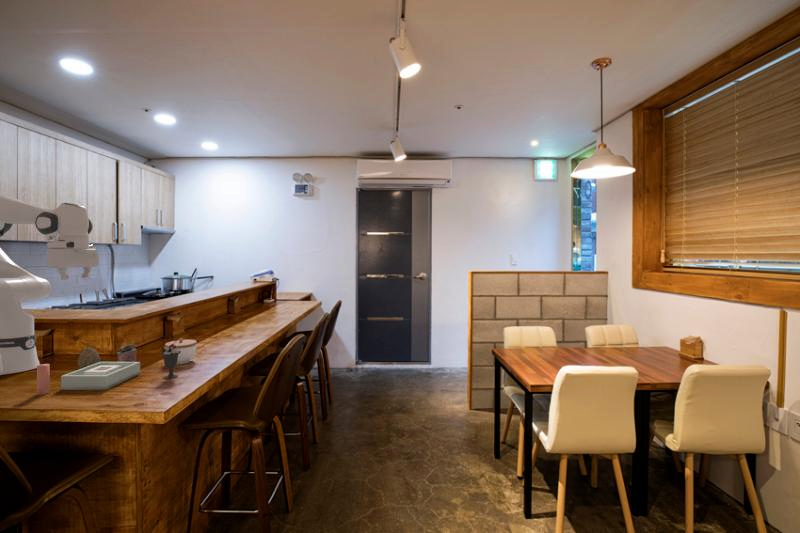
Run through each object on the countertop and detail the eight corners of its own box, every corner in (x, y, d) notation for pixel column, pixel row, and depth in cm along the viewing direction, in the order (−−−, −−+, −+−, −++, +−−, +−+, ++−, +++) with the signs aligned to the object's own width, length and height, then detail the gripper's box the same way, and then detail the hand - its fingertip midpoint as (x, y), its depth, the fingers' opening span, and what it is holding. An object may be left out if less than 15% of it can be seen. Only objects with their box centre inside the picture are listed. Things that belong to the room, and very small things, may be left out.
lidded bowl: (174, 358, 173) (174, 335, 173) (201, 358, 174) (201, 335, 174) (158, 366, 161) (158, 341, 160) (188, 366, 161) (188, 341, 161)
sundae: (184, 376, 148) (184, 339, 147) (166, 381, 142) (166, 343, 142) (175, 373, 151) (175, 337, 151) (157, 378, 145) (157, 341, 145)
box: (61, 389, 132) (61, 375, 132) (100, 373, 150) (100, 361, 150) (106, 389, 132) (106, 376, 132) (140, 373, 150) (140, 361, 150)
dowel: (34, 394, 127) (34, 366, 126) (43, 391, 130) (42, 363, 129) (43, 394, 127) (43, 366, 126) (52, 391, 130) (52, 363, 130)
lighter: (121, 371, 154) (121, 347, 153) (115, 370, 154) (114, 347, 154) (138, 365, 161) (138, 343, 161) (132, 364, 162) (132, 342, 162)
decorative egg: (102, 370, 155) (102, 346, 154) (81, 374, 149) (80, 350, 148) (96, 367, 158) (96, 344, 158) (75, 371, 152) (75, 347, 152)
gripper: (87, 245, 154) (88, 277, 155) (42, 243, 134) (43, 280, 134) (103, 245, 154) (103, 277, 155) (60, 243, 134) (61, 280, 134)
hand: (75, 278), depth 144 cm, fingers open, 8 cm apart
